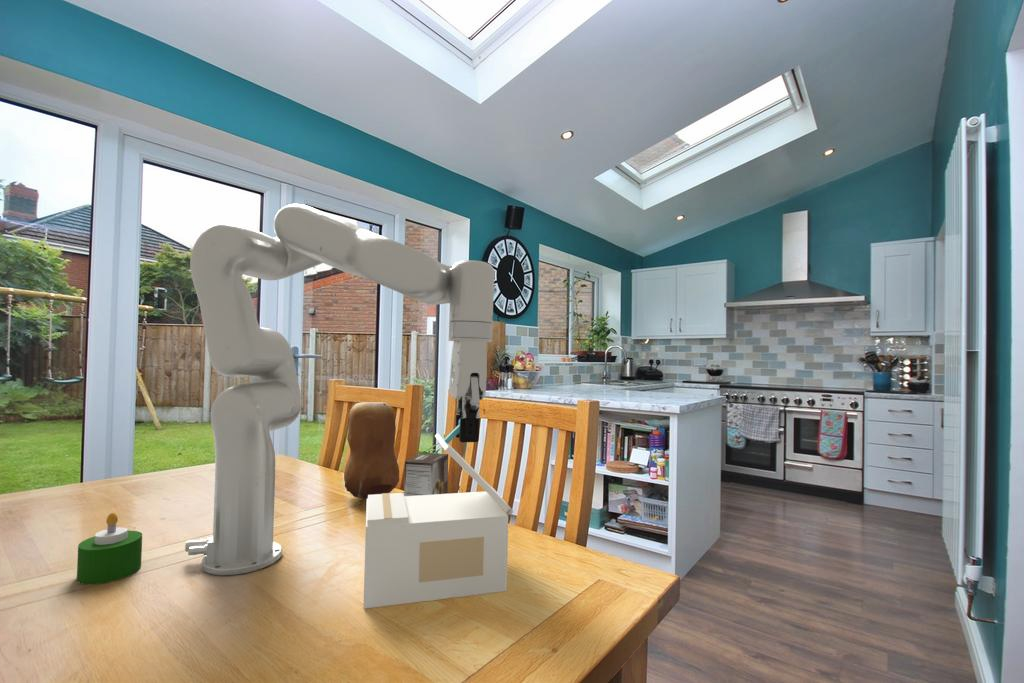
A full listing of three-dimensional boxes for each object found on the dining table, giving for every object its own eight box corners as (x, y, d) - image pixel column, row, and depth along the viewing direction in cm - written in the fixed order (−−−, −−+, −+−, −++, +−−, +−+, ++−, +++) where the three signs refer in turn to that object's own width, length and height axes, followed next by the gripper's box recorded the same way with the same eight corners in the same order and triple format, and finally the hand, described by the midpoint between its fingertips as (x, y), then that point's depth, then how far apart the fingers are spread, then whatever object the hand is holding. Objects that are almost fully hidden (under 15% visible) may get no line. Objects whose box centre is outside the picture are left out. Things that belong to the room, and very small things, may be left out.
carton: (363, 609, 71) (365, 521, 71) (364, 567, 84) (366, 493, 85) (506, 591, 77) (508, 510, 77) (486, 555, 90) (488, 486, 91)
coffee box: (419, 525, 105) (421, 451, 106) (447, 528, 104) (449, 453, 104) (402, 541, 96) (404, 460, 97) (432, 544, 95) (434, 463, 95)
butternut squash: (376, 488, 132) (378, 397, 133) (409, 497, 125) (411, 401, 125) (331, 500, 121) (334, 401, 122) (364, 511, 113) (367, 405, 114)
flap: (443, 449, 75) (472, 420, 76) (433, 435, 88) (458, 410, 89) (509, 516, 78) (536, 487, 79) (490, 493, 90) (514, 468, 92)
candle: (88, 566, 83) (91, 507, 83) (147, 559, 86) (149, 502, 86) (67, 588, 75) (69, 524, 75) (132, 579, 78) (134, 517, 78)
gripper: (442, 333, 90) (438, 431, 90) (456, 330, 74) (452, 450, 74) (481, 335, 92) (477, 431, 92) (503, 332, 76) (499, 449, 76)
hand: (466, 438), depth 83 cm, fingers closed on flap, 3 cm apart
